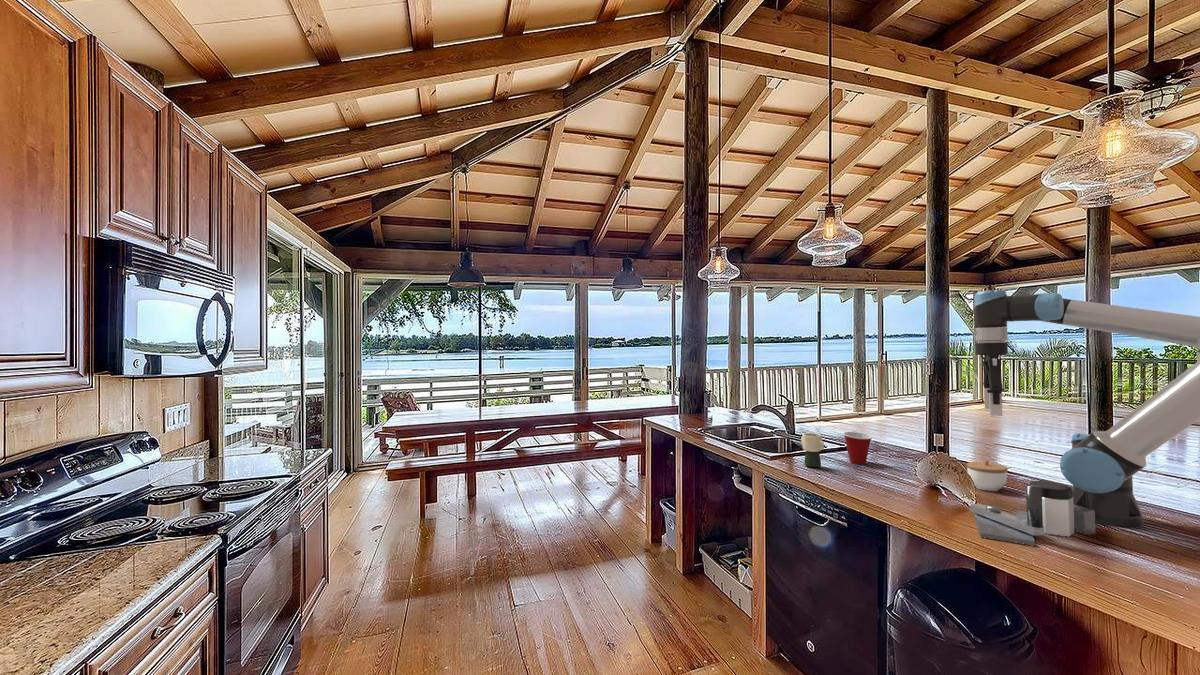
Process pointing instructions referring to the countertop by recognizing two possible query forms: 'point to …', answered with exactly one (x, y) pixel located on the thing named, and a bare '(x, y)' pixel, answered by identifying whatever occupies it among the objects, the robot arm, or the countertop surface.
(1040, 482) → the jar
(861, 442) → the plastic cup
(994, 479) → the lidded jar
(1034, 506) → the lever
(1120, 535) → the countertop surface
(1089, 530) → the backstop
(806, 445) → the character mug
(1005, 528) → the press base
